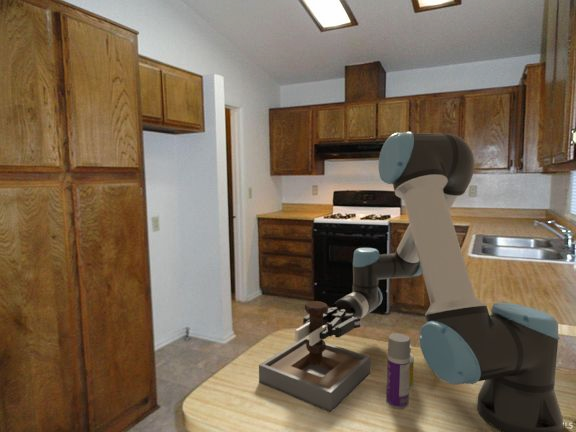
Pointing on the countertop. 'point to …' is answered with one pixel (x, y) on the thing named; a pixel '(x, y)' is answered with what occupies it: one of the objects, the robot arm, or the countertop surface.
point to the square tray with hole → (330, 360)
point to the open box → (312, 391)
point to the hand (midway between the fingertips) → (303, 337)
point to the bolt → (316, 321)
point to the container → (398, 370)
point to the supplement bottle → (411, 369)
